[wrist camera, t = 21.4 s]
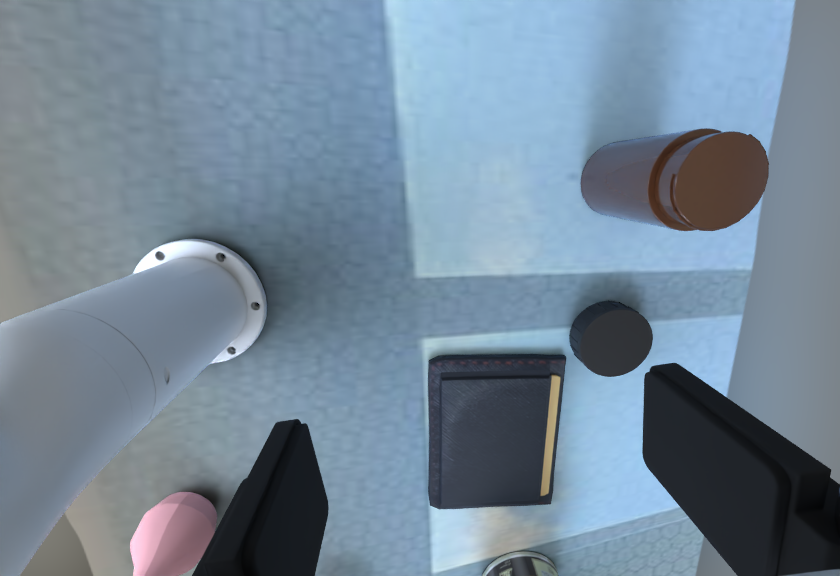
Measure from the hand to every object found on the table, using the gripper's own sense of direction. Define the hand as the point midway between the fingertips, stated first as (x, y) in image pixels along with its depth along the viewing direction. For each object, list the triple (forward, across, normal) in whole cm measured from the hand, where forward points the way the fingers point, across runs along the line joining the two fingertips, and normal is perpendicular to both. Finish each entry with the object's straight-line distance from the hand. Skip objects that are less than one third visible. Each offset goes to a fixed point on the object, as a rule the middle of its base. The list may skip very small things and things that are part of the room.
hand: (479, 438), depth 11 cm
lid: (+26, -18, +12) cm, 34 cm away
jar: (+28, -19, -4) cm, 34 cm away
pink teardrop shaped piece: (+28, +31, +26) cm, 50 cm away
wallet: (+28, -5, +22) cm, 37 cm away
